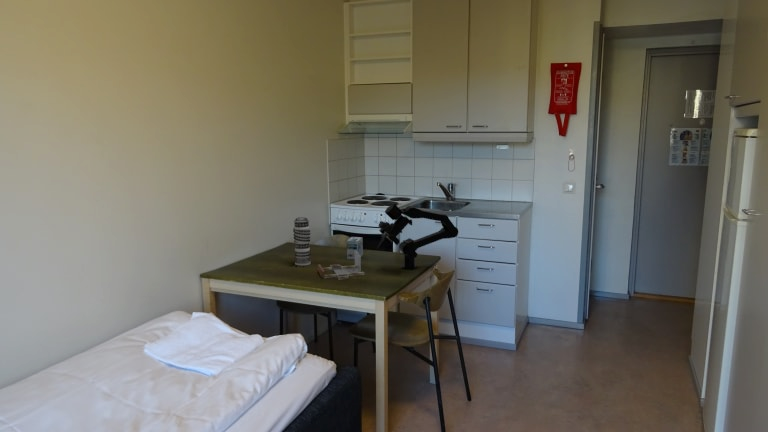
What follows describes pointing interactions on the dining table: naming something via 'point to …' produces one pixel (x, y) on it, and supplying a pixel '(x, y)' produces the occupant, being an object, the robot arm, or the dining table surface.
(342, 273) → the bookend
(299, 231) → the decorative candle
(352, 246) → the light bulb box
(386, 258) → the dining table surface
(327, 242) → the dining table surface
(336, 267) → the trap lane
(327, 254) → the dining table surface
